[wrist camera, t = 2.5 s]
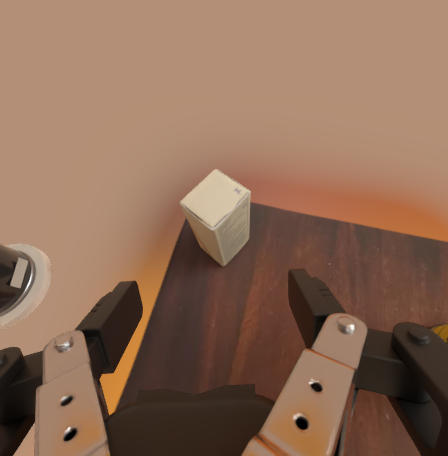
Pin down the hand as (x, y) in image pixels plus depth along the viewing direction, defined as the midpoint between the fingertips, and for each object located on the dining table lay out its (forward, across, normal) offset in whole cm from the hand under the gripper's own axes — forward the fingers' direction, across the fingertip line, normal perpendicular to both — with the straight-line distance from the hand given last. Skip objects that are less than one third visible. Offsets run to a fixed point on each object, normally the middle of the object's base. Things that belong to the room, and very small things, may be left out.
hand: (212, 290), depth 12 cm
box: (+18, 0, +5) cm, 18 cm away
